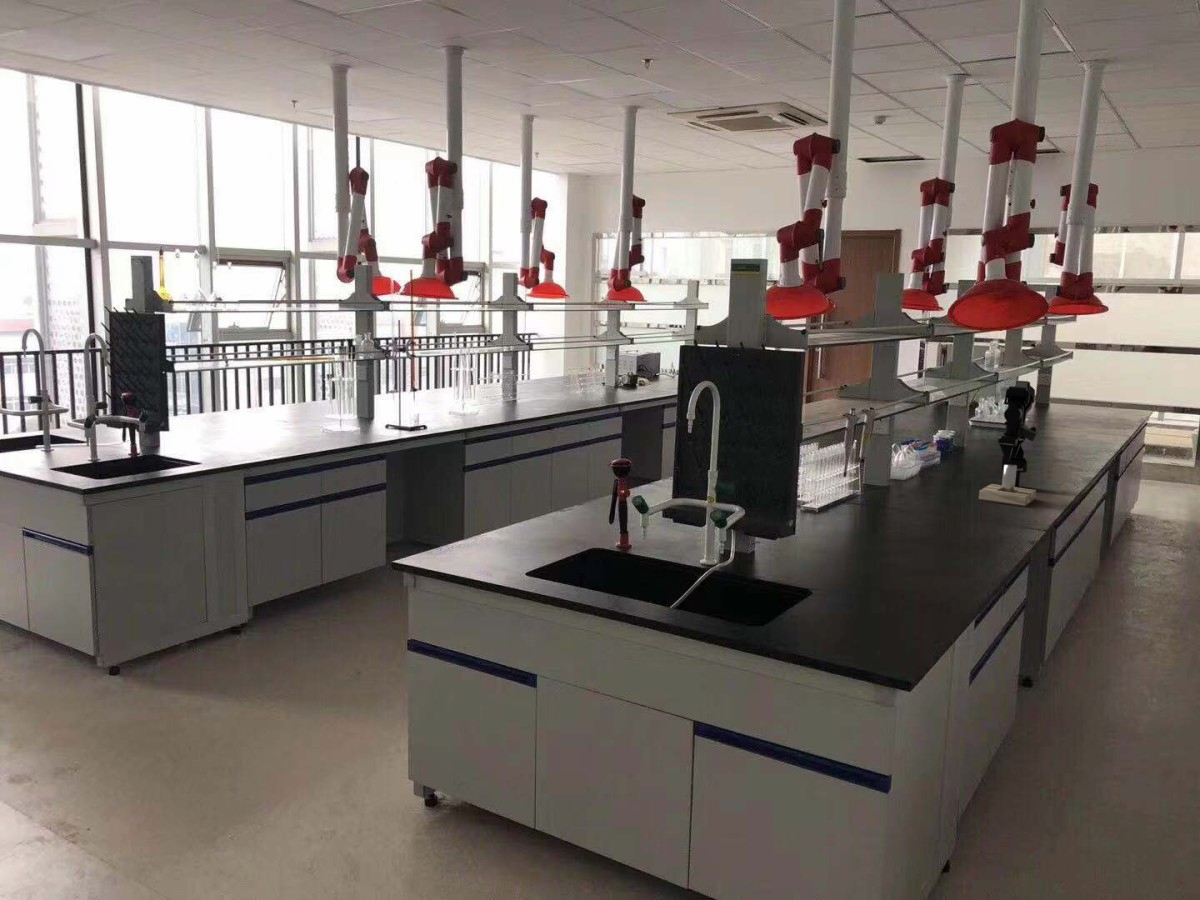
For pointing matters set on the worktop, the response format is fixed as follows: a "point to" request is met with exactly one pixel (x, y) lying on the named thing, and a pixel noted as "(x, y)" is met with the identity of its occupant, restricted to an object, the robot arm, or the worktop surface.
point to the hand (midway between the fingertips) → (1010, 459)
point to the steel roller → (1009, 478)
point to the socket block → (1007, 495)
